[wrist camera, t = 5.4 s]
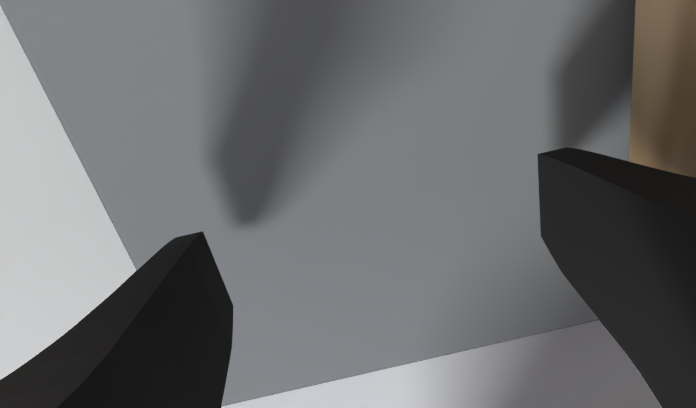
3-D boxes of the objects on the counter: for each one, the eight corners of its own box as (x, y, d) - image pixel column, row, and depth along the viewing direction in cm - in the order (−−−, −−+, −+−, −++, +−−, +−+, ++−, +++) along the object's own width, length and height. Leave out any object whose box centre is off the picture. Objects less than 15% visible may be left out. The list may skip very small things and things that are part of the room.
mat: (749, 277, 15) (757, 283, 14) (209, 401, 15) (208, 409, 15) (895, -513, 8) (916, -529, 7) (-116, -241, 8) (-129, -247, 8)
